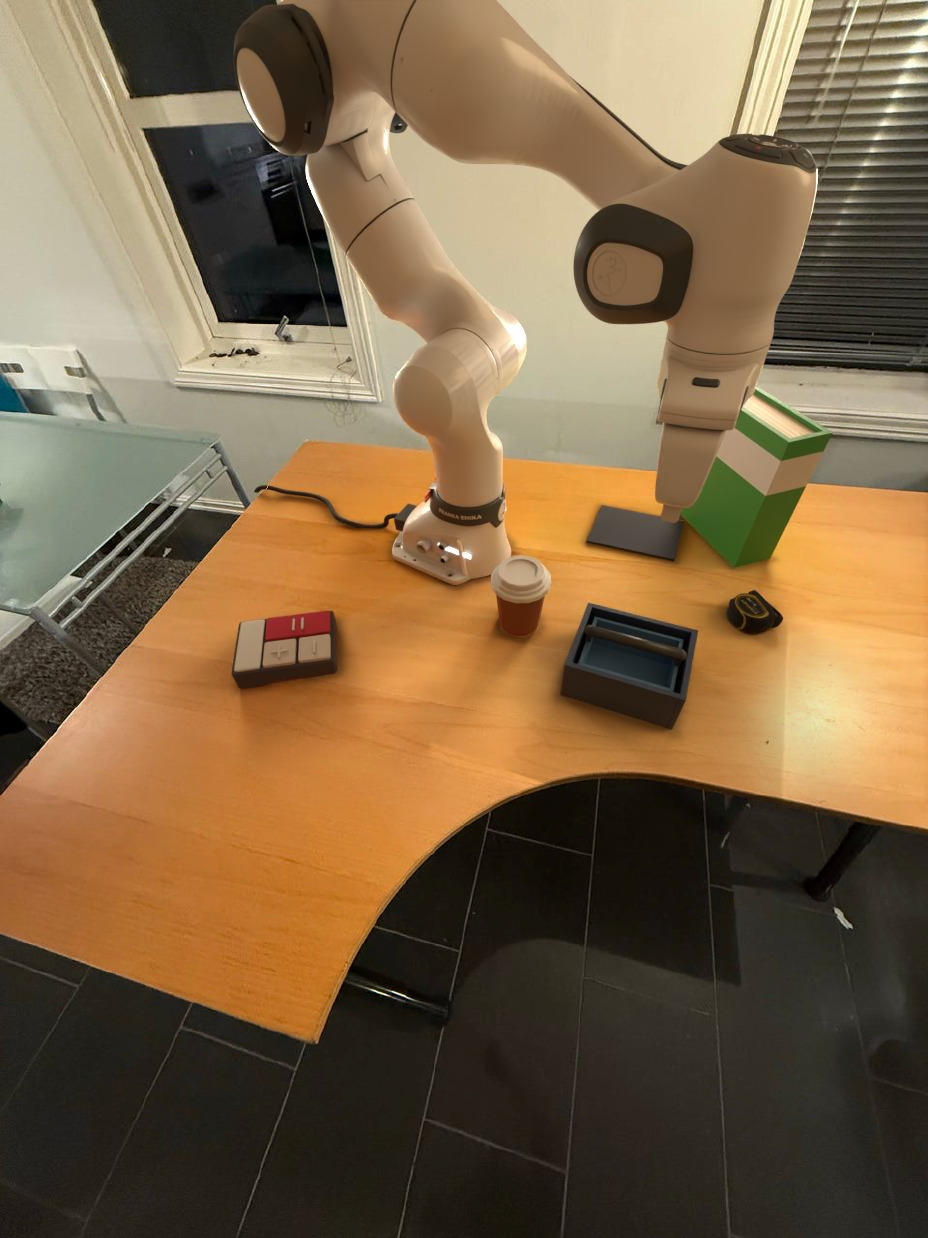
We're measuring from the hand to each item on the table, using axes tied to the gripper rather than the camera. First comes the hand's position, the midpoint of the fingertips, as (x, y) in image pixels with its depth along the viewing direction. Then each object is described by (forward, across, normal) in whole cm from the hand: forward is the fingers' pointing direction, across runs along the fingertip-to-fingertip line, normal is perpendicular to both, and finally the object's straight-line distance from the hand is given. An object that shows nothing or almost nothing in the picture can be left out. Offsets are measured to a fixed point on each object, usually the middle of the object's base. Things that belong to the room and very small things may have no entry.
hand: (675, 494), depth 59 cm
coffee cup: (+29, 0, -18) cm, 34 cm away
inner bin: (+28, +5, 0) cm, 29 cm away
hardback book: (+29, -35, +10) cm, 46 cm away
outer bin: (+29, +5, 0) cm, 29 cm away
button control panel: (+28, +19, -50) cm, 61 cm away
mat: (+29, -30, -5) cm, 42 cm away
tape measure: (+29, -14, +16) cm, 36 cm away
